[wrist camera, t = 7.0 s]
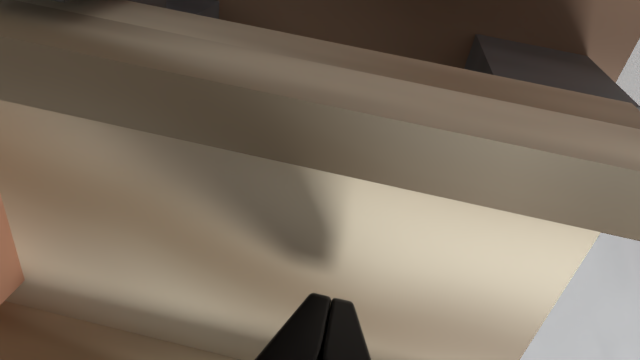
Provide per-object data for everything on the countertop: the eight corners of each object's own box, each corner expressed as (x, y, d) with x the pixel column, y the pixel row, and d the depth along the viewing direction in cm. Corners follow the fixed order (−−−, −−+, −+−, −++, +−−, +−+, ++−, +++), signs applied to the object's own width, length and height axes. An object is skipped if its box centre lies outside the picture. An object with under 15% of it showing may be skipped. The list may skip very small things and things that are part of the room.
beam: (464, 397, 13) (475, 504, 11) (-188, 237, 14) (-301, 303, 12) (631, 102, 8) (718, 188, 6) (-395, -106, 9) (-659, -104, 7)
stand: (479, 310, 19) (515, 536, 12) (-56, 184, 21) (-282, 326, 14) (672, -66, 11) (1036, -1, 5) (-207, -226, 13) (-875, -349, 6)
